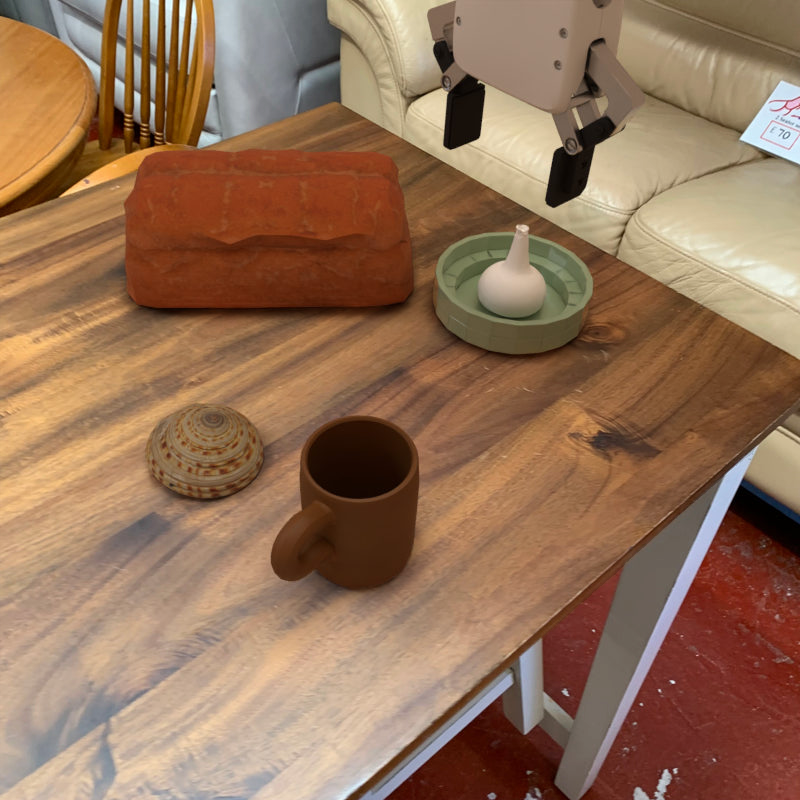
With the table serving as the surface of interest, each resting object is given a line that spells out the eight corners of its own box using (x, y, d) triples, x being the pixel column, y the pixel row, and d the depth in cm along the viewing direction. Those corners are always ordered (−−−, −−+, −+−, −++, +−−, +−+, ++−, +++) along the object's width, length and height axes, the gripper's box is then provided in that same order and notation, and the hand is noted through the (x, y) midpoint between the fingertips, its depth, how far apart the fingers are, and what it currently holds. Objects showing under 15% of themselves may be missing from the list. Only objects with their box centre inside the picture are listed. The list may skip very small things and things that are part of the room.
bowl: (562, 261, 84) (569, 229, 81) (603, 354, 74) (613, 320, 71) (423, 267, 82) (425, 234, 79) (446, 362, 72) (449, 328, 69)
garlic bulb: (476, 323, 75) (486, 249, 70) (474, 282, 80) (483, 209, 74) (546, 327, 75) (561, 253, 70) (540, 285, 80) (554, 213, 74)
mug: (330, 664, 51) (326, 578, 45) (238, 602, 54) (222, 512, 48) (434, 536, 59) (444, 446, 52) (348, 487, 61) (347, 396, 55)
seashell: (181, 382, 66) (256, 384, 61) (212, 437, 69) (286, 443, 64) (111, 449, 60) (188, 457, 56) (148, 506, 63) (223, 517, 59)
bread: (147, 224, 85) (127, 127, 78) (405, 224, 87) (410, 129, 80) (120, 319, 74) (94, 216, 67) (416, 316, 76) (423, 216, 69)
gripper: (725, -86, 43) (644, 206, 55) (487, -152, 52) (462, 111, 64) (636, -62, 39) (570, 245, 51) (396, -138, 48) (388, 138, 60)
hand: (510, 170), depth 57 cm, fingers open, 9 cm apart
